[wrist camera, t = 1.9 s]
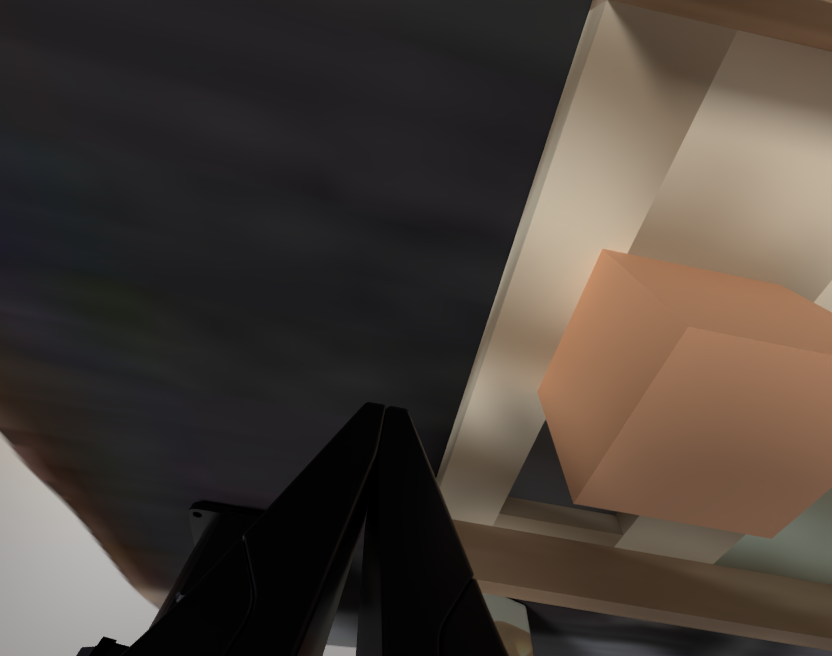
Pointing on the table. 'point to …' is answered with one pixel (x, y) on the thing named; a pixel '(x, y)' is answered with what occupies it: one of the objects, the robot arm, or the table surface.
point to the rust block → (692, 397)
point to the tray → (671, 242)
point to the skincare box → (511, 624)
